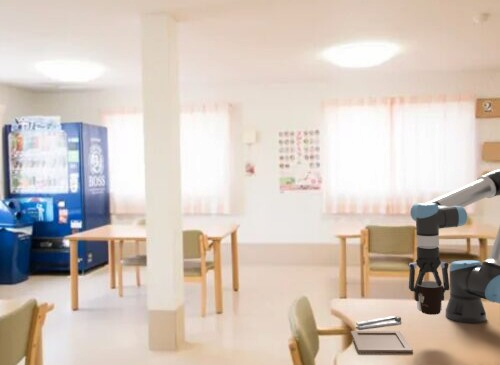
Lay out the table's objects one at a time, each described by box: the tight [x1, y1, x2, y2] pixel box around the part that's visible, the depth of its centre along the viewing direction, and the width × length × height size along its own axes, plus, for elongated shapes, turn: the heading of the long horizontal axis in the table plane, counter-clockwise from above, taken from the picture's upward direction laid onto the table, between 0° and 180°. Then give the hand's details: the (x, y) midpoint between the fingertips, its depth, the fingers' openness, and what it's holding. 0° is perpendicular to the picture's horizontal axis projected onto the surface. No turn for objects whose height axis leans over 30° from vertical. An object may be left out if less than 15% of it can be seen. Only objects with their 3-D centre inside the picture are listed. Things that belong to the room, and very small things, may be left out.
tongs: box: [355, 315, 402, 330], centre depth 189 cm, size 19×5×2 cm, turn 106°
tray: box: [350, 330, 414, 355], centre depth 170 cm, size 18×18×1 cm
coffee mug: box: [417, 280, 444, 316], centre depth 172 cm, size 12×9×10 cm
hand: (429, 309), depth 173 cm, fingers closed on coffee mug, 6 cm apart
